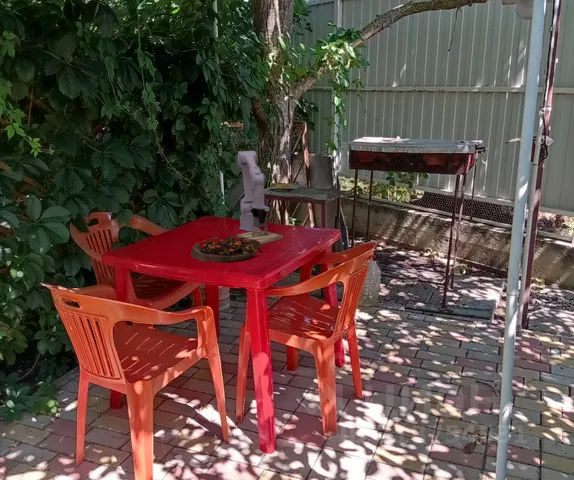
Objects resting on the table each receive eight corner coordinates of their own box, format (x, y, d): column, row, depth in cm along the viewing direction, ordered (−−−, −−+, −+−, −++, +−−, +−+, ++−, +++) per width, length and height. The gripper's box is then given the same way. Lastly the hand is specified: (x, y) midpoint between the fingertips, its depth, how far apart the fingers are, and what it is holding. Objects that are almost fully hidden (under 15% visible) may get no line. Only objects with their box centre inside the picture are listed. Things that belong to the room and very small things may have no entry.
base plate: (237, 237, 315) (236, 227, 313) (259, 232, 325) (259, 222, 324) (259, 244, 301) (259, 233, 300) (282, 238, 312) (282, 228, 310)
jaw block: (253, 226, 311) (253, 216, 310) (262, 224, 315) (261, 215, 314) (258, 227, 308) (258, 218, 307) (267, 225, 312) (266, 216, 311)
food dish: (250, 243, 308) (250, 229, 306) (271, 261, 278) (271, 245, 276) (183, 248, 295) (183, 233, 293) (198, 268, 266) (198, 251, 264)
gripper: (244, 196, 310) (245, 221, 314) (262, 200, 300) (262, 226, 303) (254, 195, 315) (255, 219, 318) (272, 198, 304) (272, 223, 308)
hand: (259, 222), depth 311 cm, fingers closed on jaw block, 4 cm apart
